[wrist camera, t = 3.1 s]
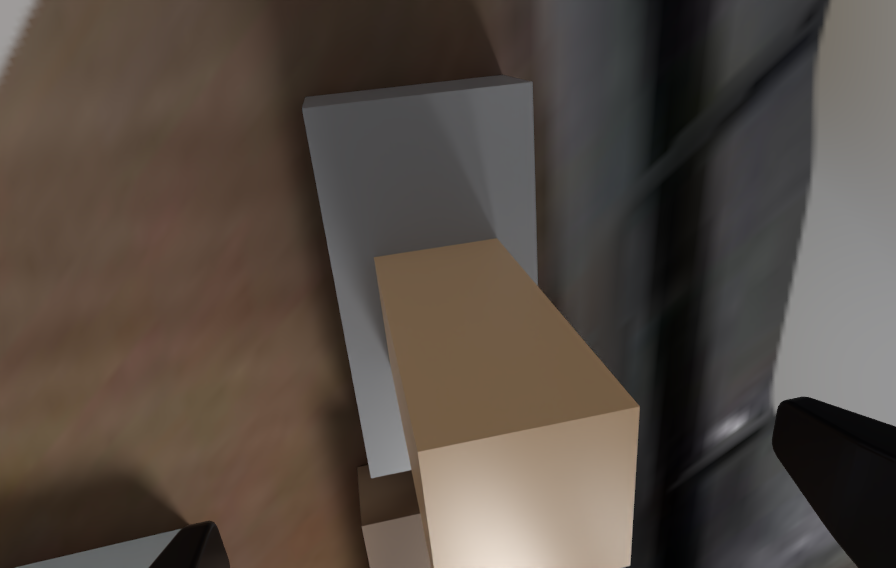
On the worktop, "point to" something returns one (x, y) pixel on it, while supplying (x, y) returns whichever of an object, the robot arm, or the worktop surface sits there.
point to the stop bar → (391, 521)
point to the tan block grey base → (468, 329)
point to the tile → (114, 554)
